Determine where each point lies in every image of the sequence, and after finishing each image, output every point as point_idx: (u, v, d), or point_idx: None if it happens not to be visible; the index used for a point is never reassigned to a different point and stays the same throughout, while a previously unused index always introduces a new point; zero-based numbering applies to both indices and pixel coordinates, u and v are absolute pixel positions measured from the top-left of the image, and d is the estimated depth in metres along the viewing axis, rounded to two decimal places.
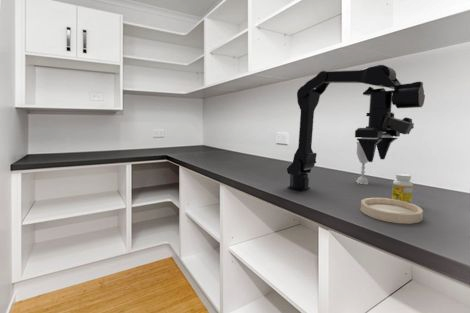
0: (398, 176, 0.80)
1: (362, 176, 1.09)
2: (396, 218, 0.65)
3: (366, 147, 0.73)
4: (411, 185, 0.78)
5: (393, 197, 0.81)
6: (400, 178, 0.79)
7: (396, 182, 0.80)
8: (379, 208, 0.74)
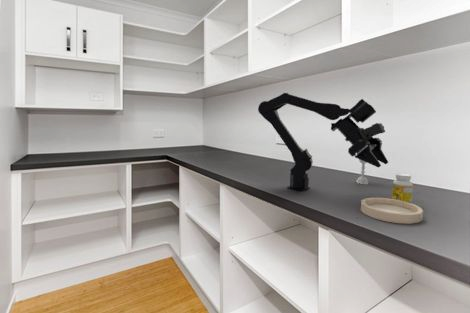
0: (398, 176, 0.80)
1: (362, 176, 1.09)
2: (396, 218, 0.65)
3: (366, 158, 0.82)
4: (411, 185, 0.78)
5: (393, 197, 0.81)
6: (400, 178, 0.79)
7: (396, 182, 0.80)
8: (379, 208, 0.74)
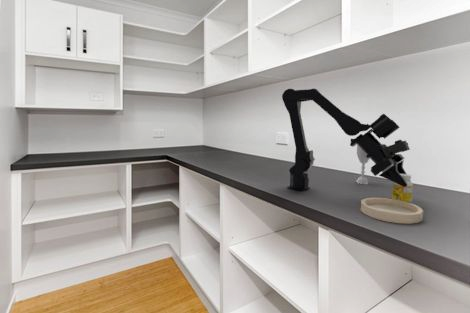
0: None
1: (362, 176, 1.09)
2: (396, 218, 0.65)
3: (392, 177, 0.79)
4: (411, 185, 0.78)
5: (393, 197, 0.81)
6: None
7: None
8: (379, 208, 0.74)
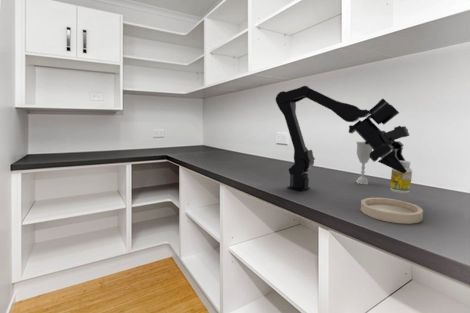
0: None
1: (362, 176, 1.09)
2: (396, 218, 0.65)
3: (391, 163, 0.77)
4: (410, 172, 0.76)
5: (392, 184, 0.79)
6: None
7: None
8: (379, 208, 0.74)
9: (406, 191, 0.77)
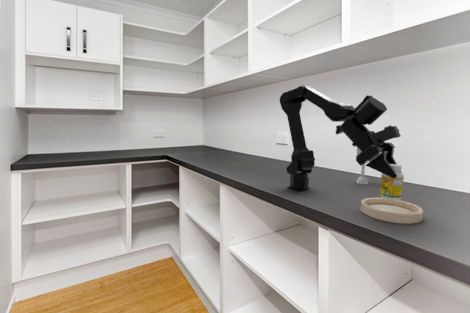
0: None
1: (362, 176, 1.09)
2: (396, 218, 0.65)
3: (380, 167, 0.69)
4: (401, 177, 0.69)
5: (381, 190, 0.72)
6: None
7: None
8: (379, 208, 0.74)
9: (397, 198, 0.69)
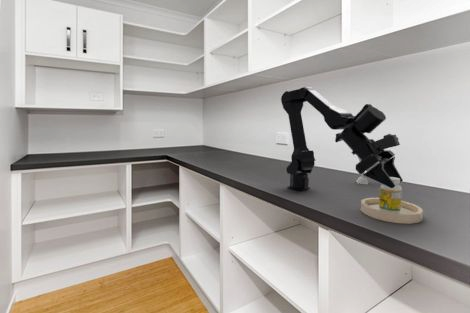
0: None
1: (362, 176, 1.09)
2: (396, 218, 0.65)
3: (378, 176, 0.68)
4: (400, 190, 0.69)
5: (380, 203, 0.72)
6: None
7: (383, 186, 0.71)
8: None
9: (396, 211, 0.70)
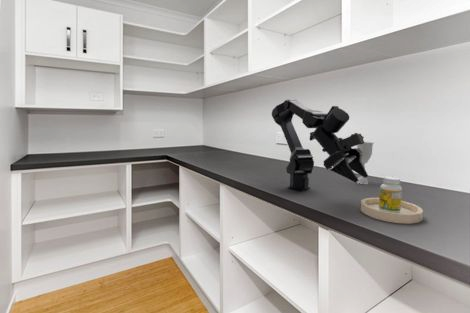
0: (386, 180, 0.71)
1: (362, 176, 1.09)
2: (396, 218, 0.65)
3: (343, 172, 0.75)
4: (400, 190, 0.69)
5: (380, 203, 0.72)
6: (388, 182, 0.70)
7: (384, 186, 0.71)
8: None
9: (396, 211, 0.70)
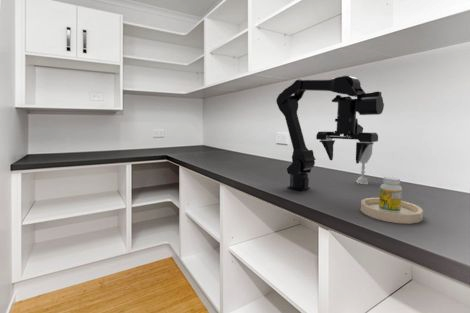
0: (386, 180, 0.71)
1: (362, 176, 1.09)
2: (396, 218, 0.65)
3: (361, 150, 0.79)
4: (400, 190, 0.69)
5: (380, 203, 0.72)
6: (388, 182, 0.70)
7: (383, 186, 0.71)
8: None
9: (396, 211, 0.70)
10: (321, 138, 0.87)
